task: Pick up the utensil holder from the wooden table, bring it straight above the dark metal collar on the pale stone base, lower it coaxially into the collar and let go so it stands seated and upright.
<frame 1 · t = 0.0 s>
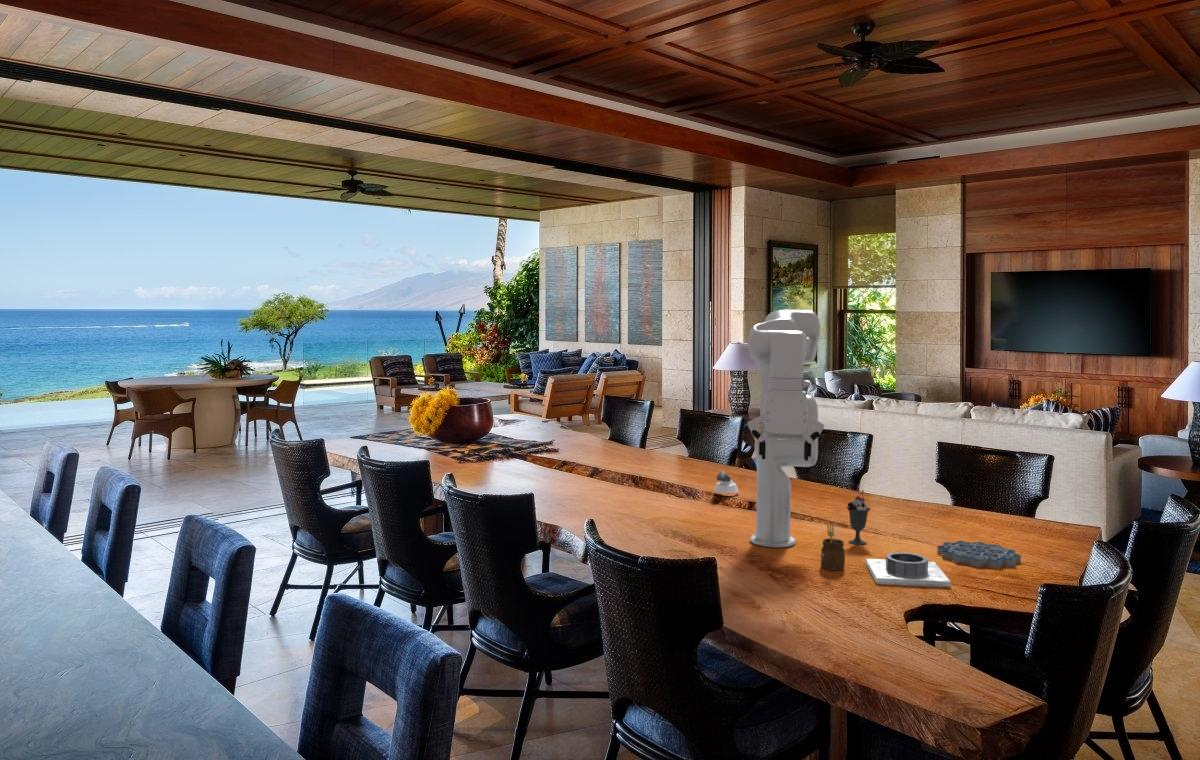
hand: (784, 459, 196), 31 cm above the table, tool pointing down, fingers open, 9 cm apart
sundae: (857, 543, 243), on the table
inkwell: (725, 497, 306), on the table
collar stand: (906, 575, 212), on the table
utensil holder: (832, 568, 218), on the table
decorative tile: (978, 559, 229), on the table
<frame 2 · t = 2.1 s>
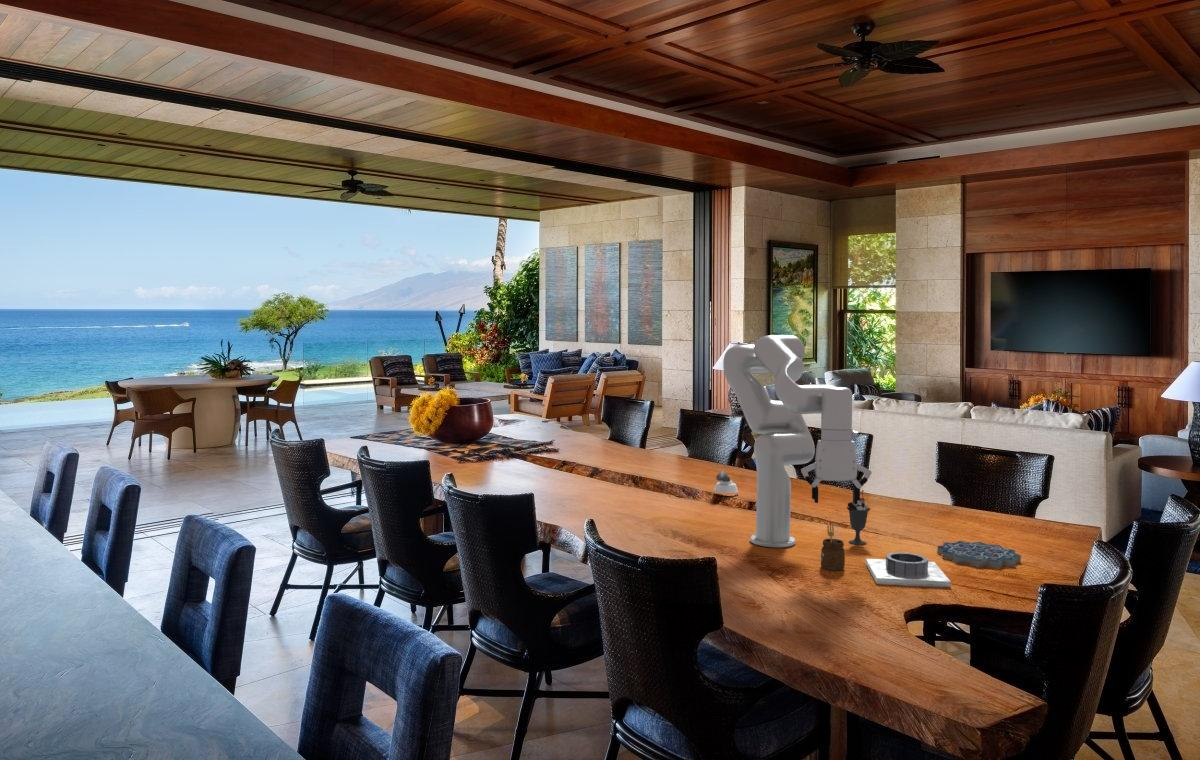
hand: (835, 502, 216), 17 cm above the table, tool pointing down, fingers open, 9 cm apart
nothing on the table moved.
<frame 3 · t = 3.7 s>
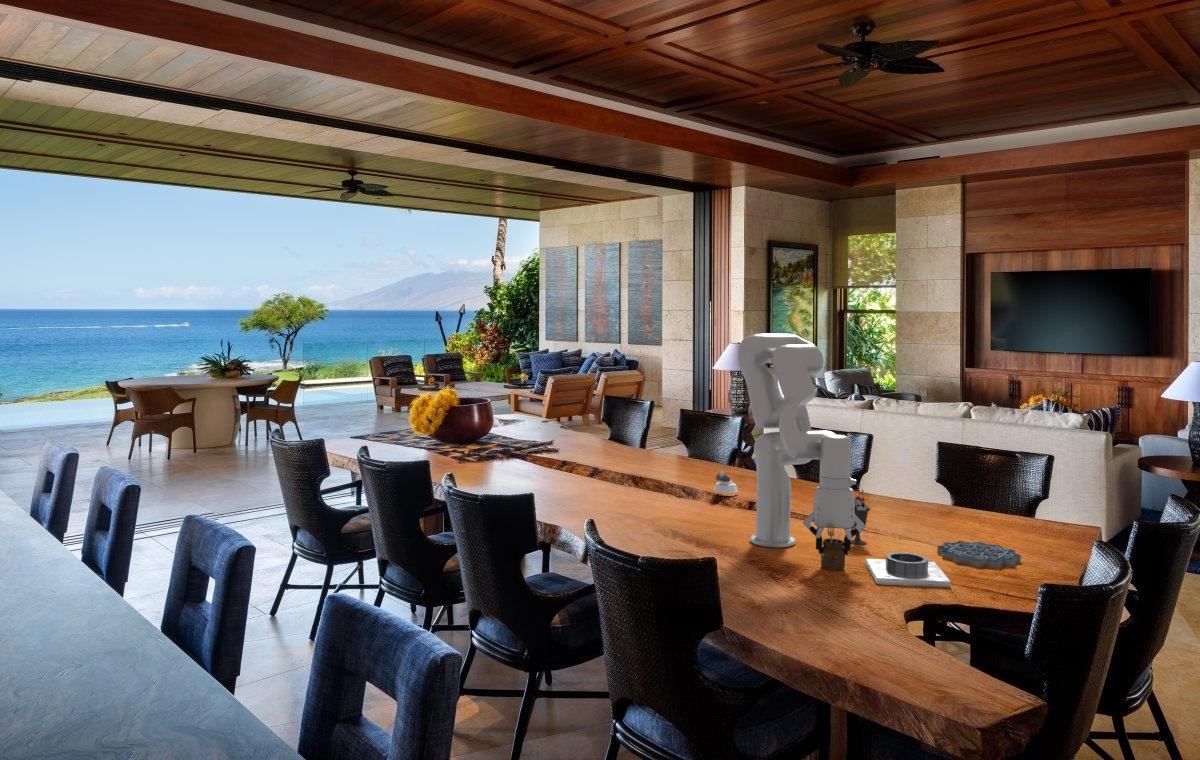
hand: (832, 552, 218), 4 cm above the table, tool pointing down, fingers closed on utensil holder, 5 cm apart
utensil holder: (832, 568, 218), on the table, touching gripper
everything else where it was.
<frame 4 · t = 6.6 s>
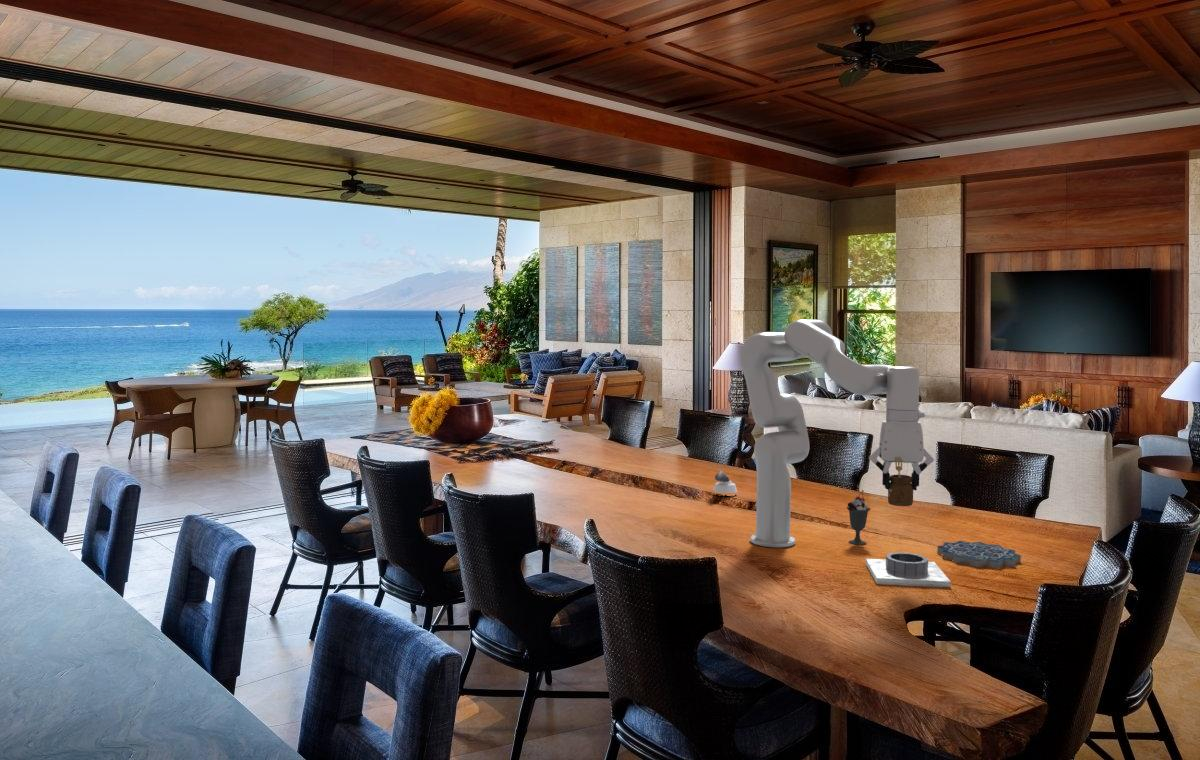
hand: (900, 488, 211), 22 cm above the table, tool pointing down, fingers closed on utensil holder, 5 cm apart
utensil holder: (900, 505, 211), point 18 cm above the table, touching gripper
everything else where it was.
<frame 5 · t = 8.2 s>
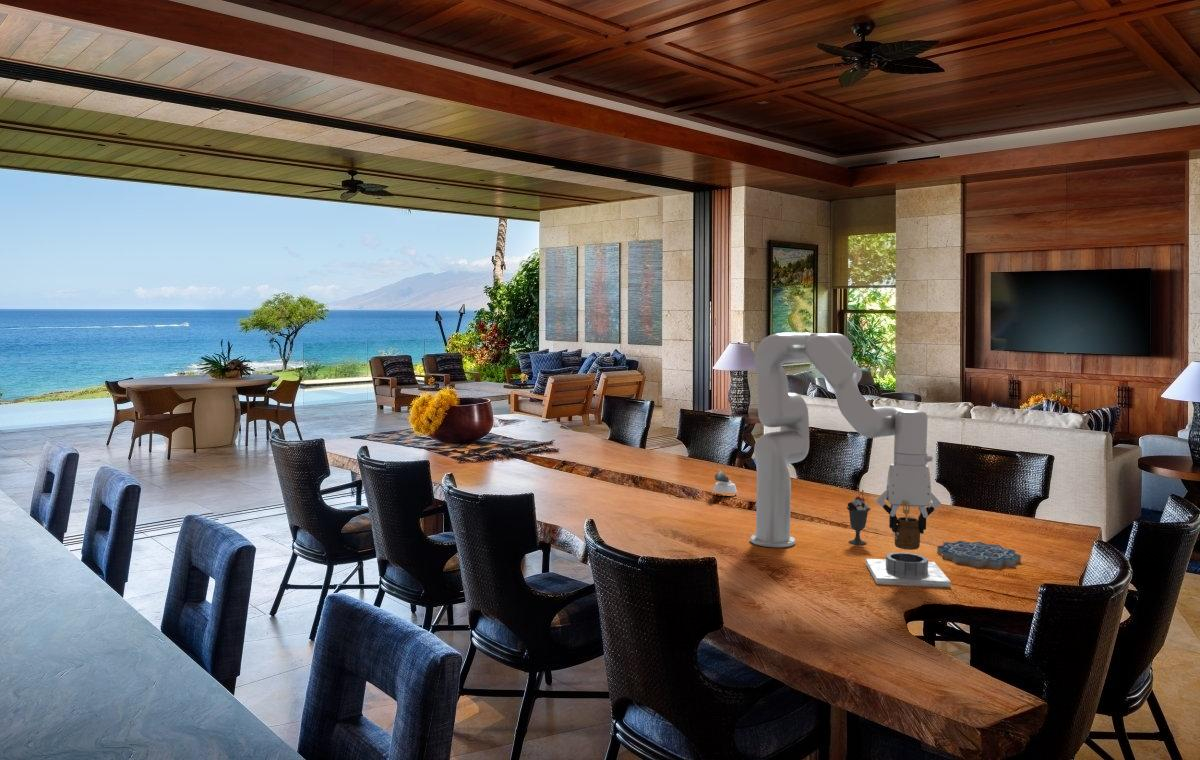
hand: (907, 531, 211), 11 cm above the table, tool pointing down, fingers closed on utensil holder, 5 cm apart
utensil holder: (906, 548, 211), point 7 cm above the table, touching gripper
everything else where it was.
when the fingers open (6 cm above the table, at t = 9.7 s): utensil holder stays where it is, resting on collar stand.
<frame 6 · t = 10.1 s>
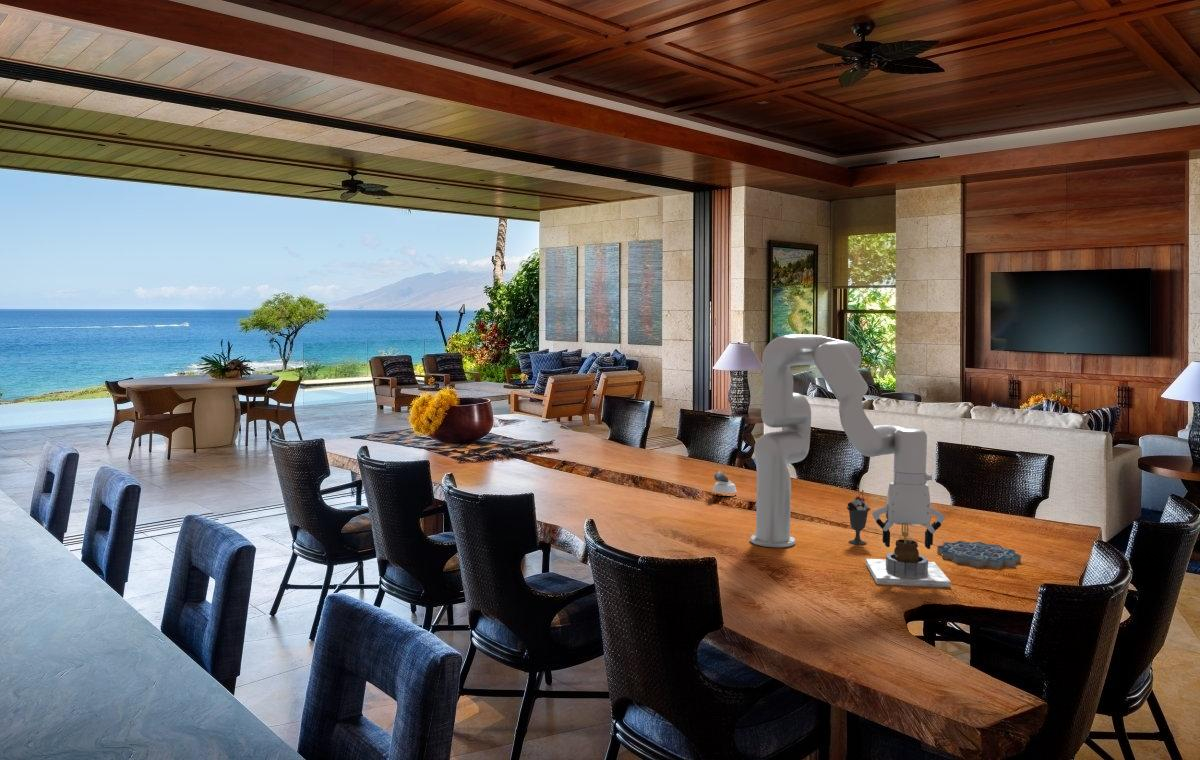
hand: (907, 546, 211), 7 cm above the table, tool pointing down, fingers open, 9 cm apart
utensil holder: (905, 570, 212), point 1 cm above the table, touching collar stand
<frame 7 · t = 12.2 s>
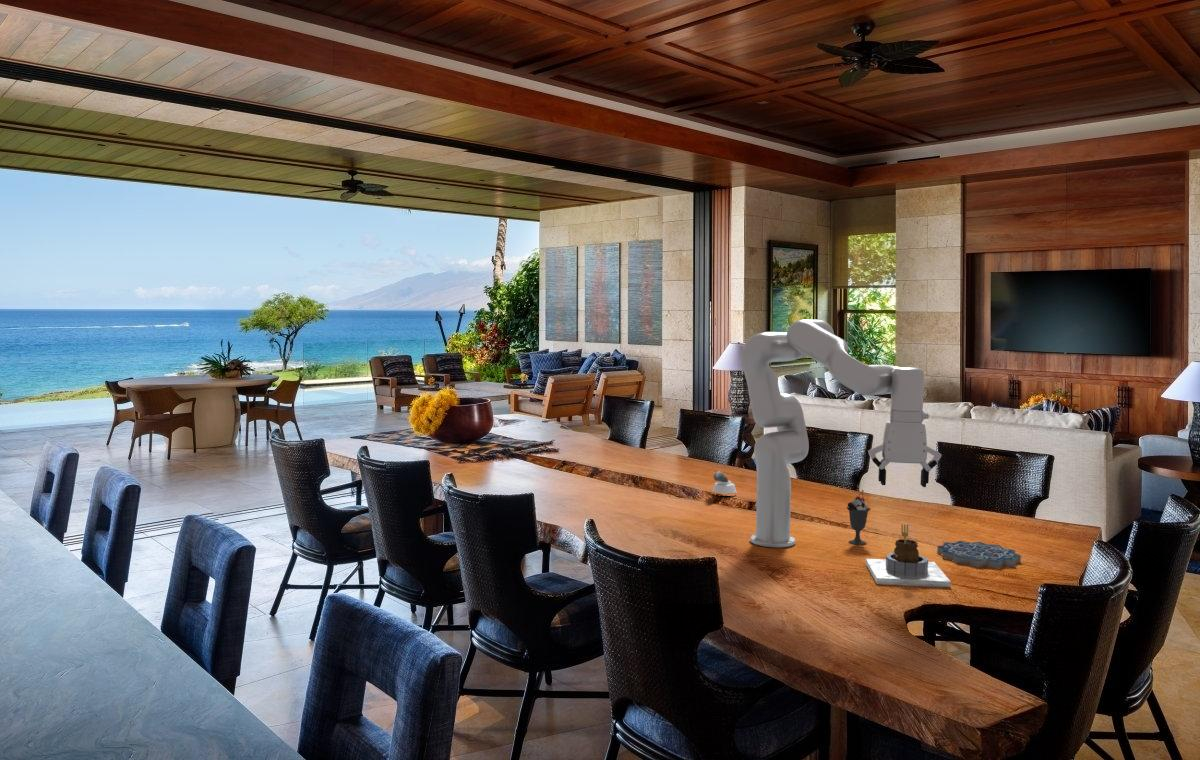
hand: (903, 485, 212), 22 cm above the table, tool pointing down, fingers open, 9 cm apart
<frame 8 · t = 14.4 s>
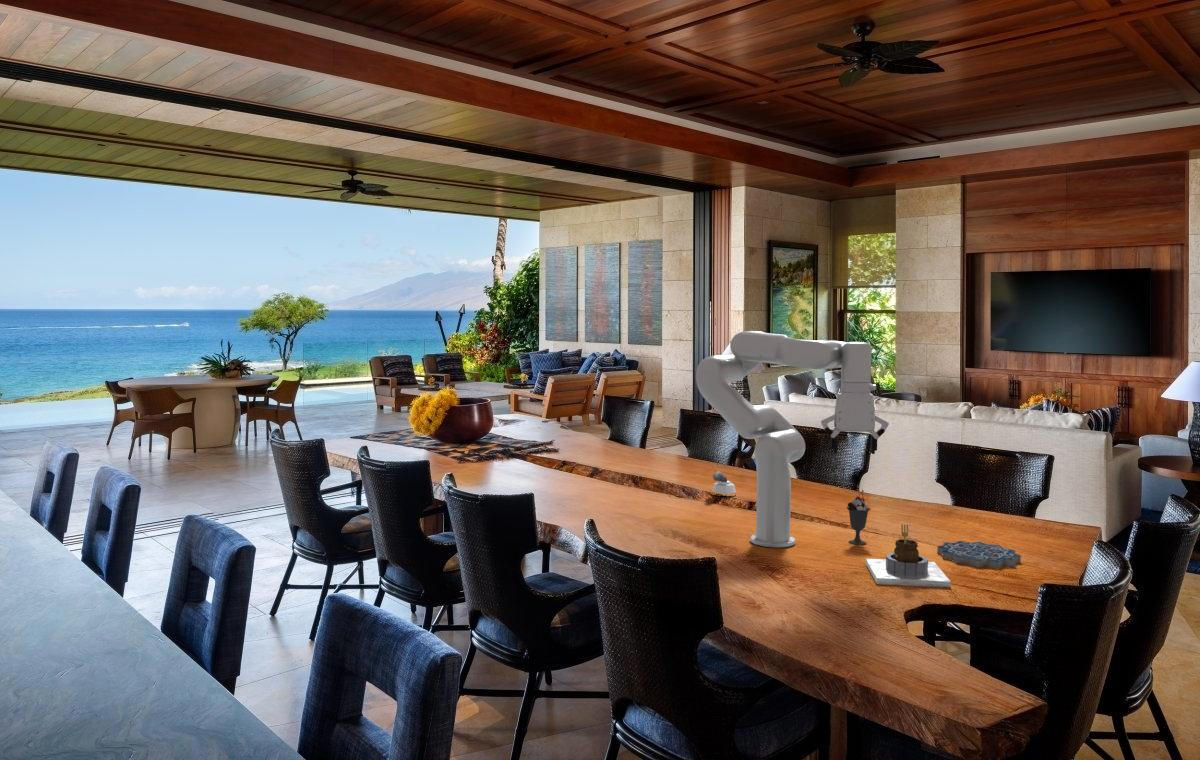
hand: (853, 452, 226), 28 cm above the table, tool pointing down, fingers open, 9 cm apart
at the end: utensil holder 0.2 cm off-centre on the collar stand, point 1.3 cm above the collar stand's base; utensil holder tilted 0°; the gripper is holding nothing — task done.
